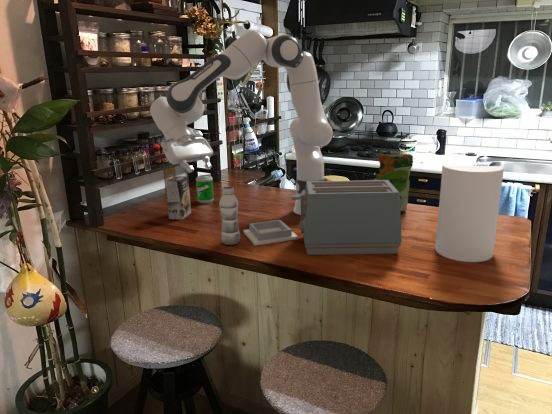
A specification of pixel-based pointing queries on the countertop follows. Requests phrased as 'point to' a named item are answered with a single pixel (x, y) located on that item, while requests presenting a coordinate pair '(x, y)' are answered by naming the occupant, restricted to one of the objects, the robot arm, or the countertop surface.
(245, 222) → the countertop surface
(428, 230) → the countertop surface
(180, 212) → the coffee box
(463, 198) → the cylinder
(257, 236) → the bottle holder
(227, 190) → the plastic bottle
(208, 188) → the soda can
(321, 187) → the toaster
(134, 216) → the countertop surface
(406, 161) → the pouch
